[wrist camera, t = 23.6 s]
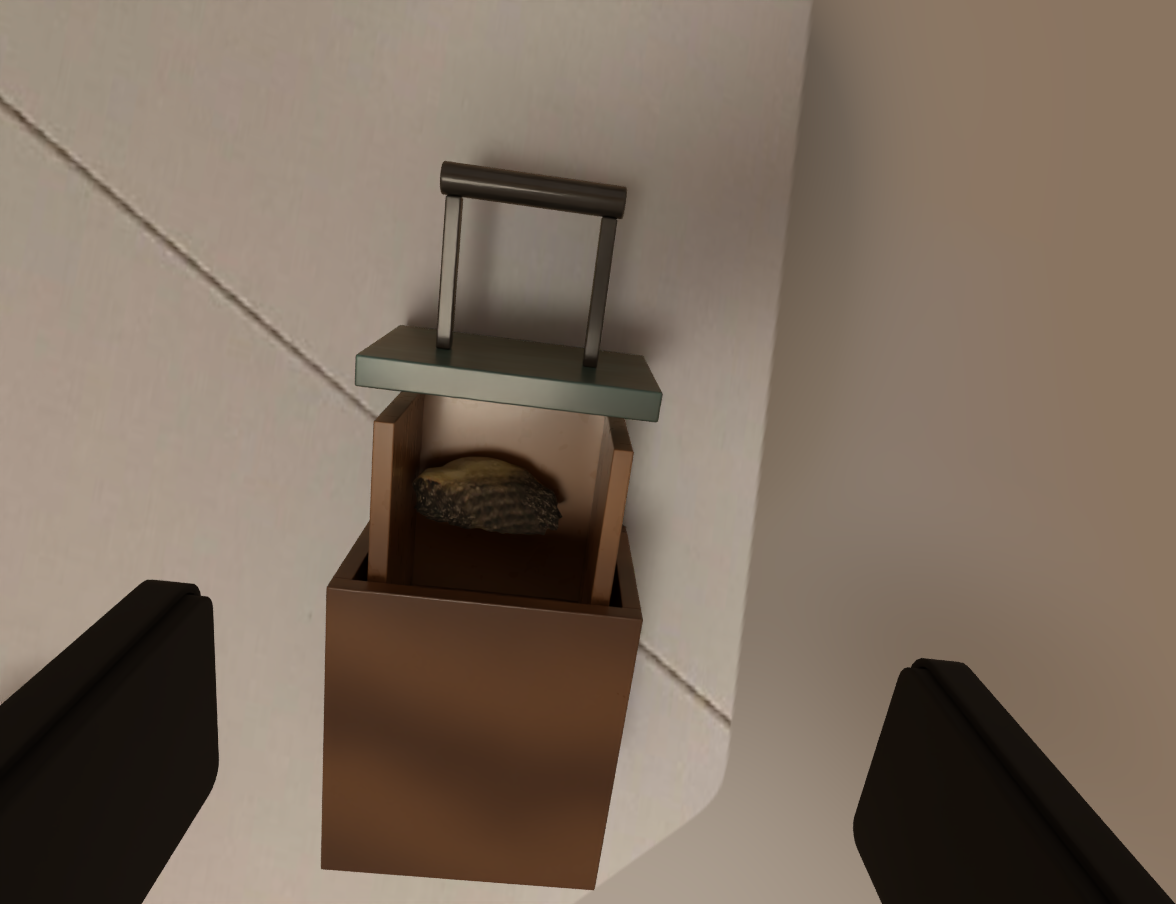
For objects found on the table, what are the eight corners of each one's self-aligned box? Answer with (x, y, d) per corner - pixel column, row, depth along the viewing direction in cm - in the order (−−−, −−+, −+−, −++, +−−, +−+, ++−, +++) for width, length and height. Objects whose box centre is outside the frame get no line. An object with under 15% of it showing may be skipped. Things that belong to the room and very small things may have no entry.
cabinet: (383, 498, 37) (325, 586, 28) (626, 525, 38) (643, 619, 29) (372, 732, 41) (320, 869, 33) (589, 751, 42) (594, 891, 33)
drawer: (407, 159, 31) (361, 144, 24) (668, 197, 32) (697, 192, 25) (386, 583, 37) (345, 668, 30) (604, 605, 38) (612, 693, 31)
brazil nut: (398, 502, 32) (414, 445, 31) (467, 479, 37) (483, 427, 35) (505, 578, 30) (527, 520, 29) (566, 544, 34) (587, 492, 33)
